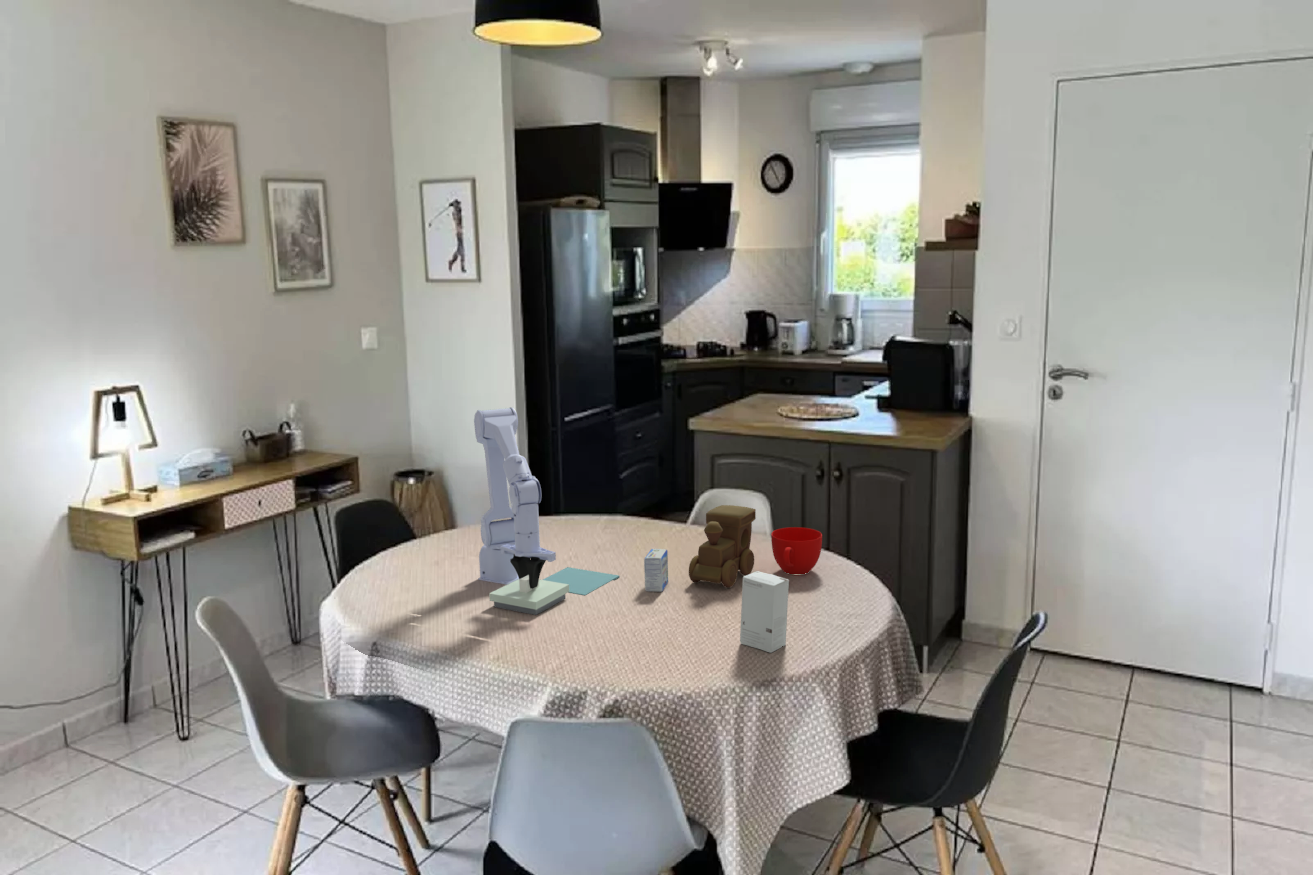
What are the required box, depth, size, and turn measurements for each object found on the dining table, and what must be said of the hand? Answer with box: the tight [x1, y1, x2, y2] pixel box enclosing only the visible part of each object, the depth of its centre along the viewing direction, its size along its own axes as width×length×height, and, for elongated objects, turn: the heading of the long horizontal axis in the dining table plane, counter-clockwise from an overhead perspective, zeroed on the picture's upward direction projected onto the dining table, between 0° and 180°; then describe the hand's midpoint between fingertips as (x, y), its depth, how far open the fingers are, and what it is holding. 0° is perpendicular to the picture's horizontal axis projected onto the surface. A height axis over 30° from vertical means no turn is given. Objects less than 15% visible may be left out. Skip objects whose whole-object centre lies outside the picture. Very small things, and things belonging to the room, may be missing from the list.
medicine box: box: [643, 548, 669, 593], centre depth 240 cm, size 8×4×9 cm, turn 168°
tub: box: [493, 594, 566, 616], centre depth 230 cm, size 12×12×3 cm
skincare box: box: [739, 570, 790, 654], centre depth 202 cm, size 8×6×15 cm
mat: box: [542, 566, 621, 596], centre depth 245 cm, size 16×16×1 cm
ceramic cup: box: [770, 526, 823, 575], centre depth 247 cm, size 13×17×10 cm
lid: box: [488, 575, 569, 610], centre depth 229 cm, size 13×13×5 cm
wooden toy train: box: [688, 504, 757, 589], centre depth 245 cm, size 20×11×17 cm, turn 151°
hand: (529, 586), depth 229 cm, fingers closed on lid
